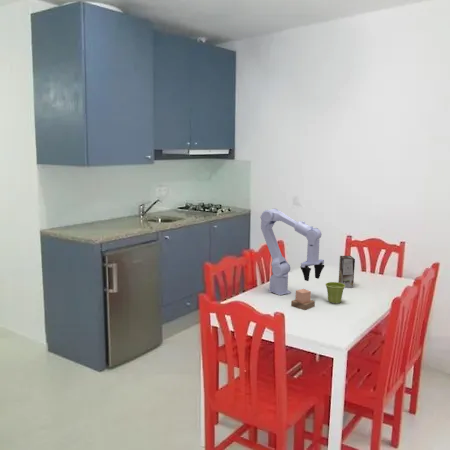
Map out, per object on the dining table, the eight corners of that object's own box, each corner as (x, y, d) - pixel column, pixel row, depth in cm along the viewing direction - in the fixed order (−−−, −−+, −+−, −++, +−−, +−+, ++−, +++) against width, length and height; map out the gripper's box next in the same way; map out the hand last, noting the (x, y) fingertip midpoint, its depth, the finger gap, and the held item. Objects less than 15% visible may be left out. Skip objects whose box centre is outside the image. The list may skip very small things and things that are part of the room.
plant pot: (330, 305, 221) (331, 288, 220) (321, 299, 230) (322, 282, 229) (347, 303, 224) (348, 286, 222) (338, 298, 233) (339, 281, 231)
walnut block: (291, 307, 219) (291, 301, 219) (300, 303, 225) (300, 297, 225) (305, 311, 214) (305, 304, 214) (314, 307, 220) (314, 301, 219)
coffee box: (353, 288, 250) (355, 259, 247) (341, 287, 250) (343, 258, 248) (349, 283, 259) (351, 255, 256) (338, 283, 259) (339, 255, 257)
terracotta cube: (295, 300, 220) (295, 290, 219) (303, 298, 222) (303, 288, 221) (302, 303, 215) (302, 293, 215) (310, 301, 218) (310, 291, 217)
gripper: (308, 256, 220) (307, 283, 222) (329, 252, 229) (327, 278, 231) (298, 253, 226) (297, 280, 228) (318, 250, 234) (317, 275, 236)
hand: (311, 279), depth 230 cm, fingers open, 7 cm apart
